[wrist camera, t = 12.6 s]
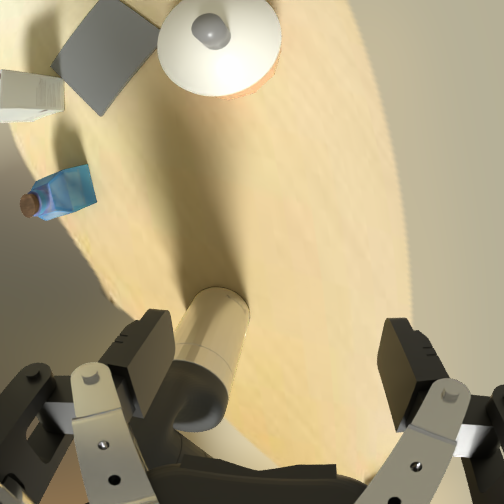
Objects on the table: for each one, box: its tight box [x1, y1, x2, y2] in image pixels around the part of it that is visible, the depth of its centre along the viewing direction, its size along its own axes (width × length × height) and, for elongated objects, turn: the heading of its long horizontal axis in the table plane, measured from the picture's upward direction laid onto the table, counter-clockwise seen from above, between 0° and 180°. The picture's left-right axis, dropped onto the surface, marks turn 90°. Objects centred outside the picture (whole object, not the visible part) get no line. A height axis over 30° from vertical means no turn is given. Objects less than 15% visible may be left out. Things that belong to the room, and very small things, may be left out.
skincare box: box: [0, 69, 64, 123], centre depth 33 cm, size 8×6×15 cm
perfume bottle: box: [20, 164, 97, 220], centre depth 40 cm, size 6×6×12 cm
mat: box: [50, 0, 160, 116], centre depth 37 cm, size 15×15×1 cm
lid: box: [157, 0, 282, 97], centre depth 28 cm, size 14×14×6 cm
